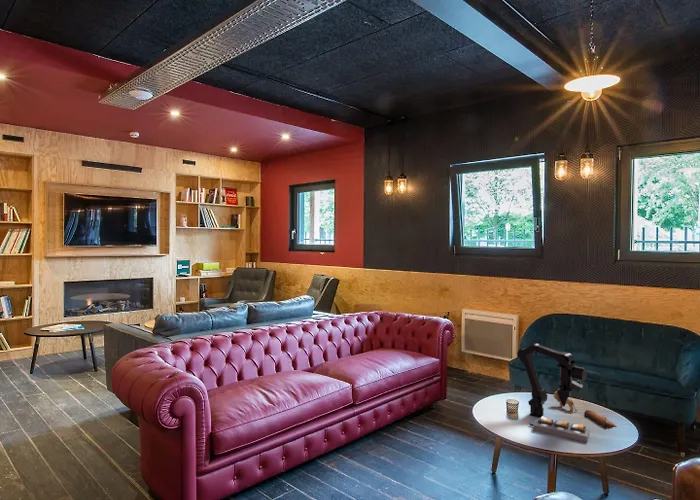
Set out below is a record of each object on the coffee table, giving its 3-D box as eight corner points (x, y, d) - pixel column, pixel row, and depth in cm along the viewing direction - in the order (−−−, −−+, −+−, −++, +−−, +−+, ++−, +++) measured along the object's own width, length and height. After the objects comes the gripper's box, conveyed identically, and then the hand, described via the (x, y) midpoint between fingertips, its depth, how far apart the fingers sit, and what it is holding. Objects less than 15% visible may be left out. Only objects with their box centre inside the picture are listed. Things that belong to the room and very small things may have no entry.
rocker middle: (556, 426, 243) (555, 423, 243) (557, 423, 246) (556, 421, 246) (566, 426, 240) (566, 423, 240) (567, 423, 243) (567, 421, 243)
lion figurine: (551, 405, 279) (551, 391, 278) (556, 403, 282) (556, 389, 282) (575, 413, 267) (575, 398, 267) (579, 411, 270) (580, 396, 270)
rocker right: (572, 429, 238) (572, 426, 238) (573, 426, 241) (573, 424, 242) (583, 429, 235) (582, 427, 236) (584, 427, 239) (583, 424, 239)
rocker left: (540, 420, 247) (540, 418, 247) (541, 418, 250) (542, 416, 250) (550, 424, 244) (550, 422, 244) (551, 422, 248) (551, 419, 247)
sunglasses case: (619, 427, 247) (613, 417, 247) (608, 434, 247) (603, 424, 246) (597, 414, 265) (591, 405, 264) (587, 421, 264) (582, 411, 264)
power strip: (527, 429, 246) (527, 421, 246) (531, 422, 254) (531, 415, 254) (587, 442, 230) (587, 434, 230) (589, 435, 238) (589, 427, 238)
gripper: (580, 383, 238) (579, 412, 239) (583, 373, 254) (582, 401, 255) (557, 379, 244) (556, 407, 245) (561, 370, 260) (561, 397, 261)
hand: (564, 403), depth 251 cm, fingers open, 9 cm apart
